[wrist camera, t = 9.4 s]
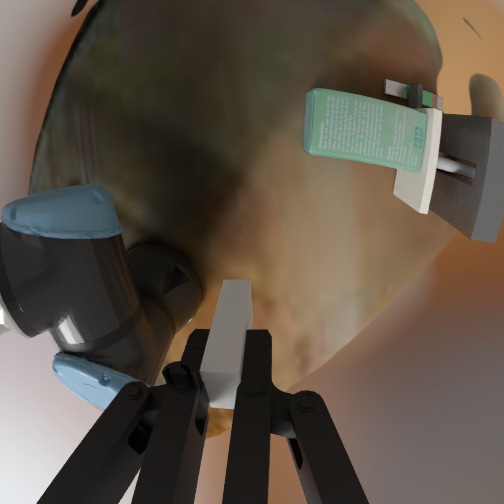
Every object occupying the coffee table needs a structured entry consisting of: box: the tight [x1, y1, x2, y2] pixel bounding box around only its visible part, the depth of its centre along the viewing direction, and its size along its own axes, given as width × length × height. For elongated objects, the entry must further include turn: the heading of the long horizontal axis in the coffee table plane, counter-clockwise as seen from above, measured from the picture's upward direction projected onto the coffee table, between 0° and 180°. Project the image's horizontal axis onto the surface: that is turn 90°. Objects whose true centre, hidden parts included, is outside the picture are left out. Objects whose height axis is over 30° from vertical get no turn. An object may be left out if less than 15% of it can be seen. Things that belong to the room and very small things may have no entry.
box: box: [303, 88, 428, 173], centre depth 27 cm, size 7×14×8 cm, turn 87°
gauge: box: [383, 79, 504, 243], centre depth 25 cm, size 14×16×12 cm
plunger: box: [393, 83, 476, 214], centre depth 26 cm, size 13×16×8 cm
